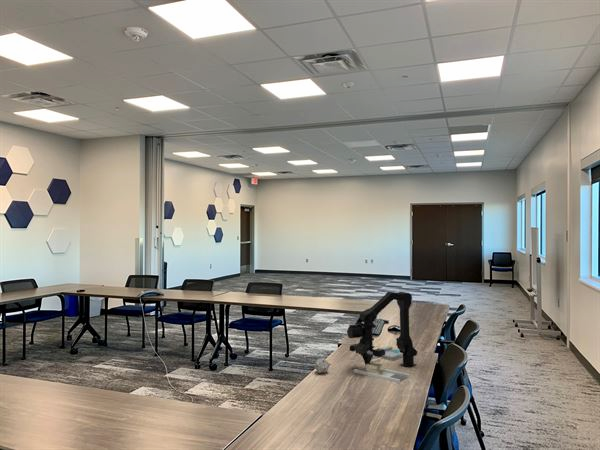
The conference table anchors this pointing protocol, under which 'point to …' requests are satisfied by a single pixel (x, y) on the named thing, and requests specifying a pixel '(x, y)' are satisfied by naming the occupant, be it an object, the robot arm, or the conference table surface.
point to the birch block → (374, 368)
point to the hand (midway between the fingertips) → (367, 366)
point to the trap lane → (386, 375)
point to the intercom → (390, 354)
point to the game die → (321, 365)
